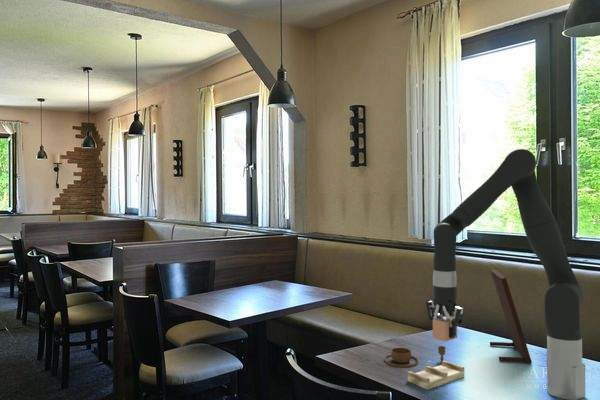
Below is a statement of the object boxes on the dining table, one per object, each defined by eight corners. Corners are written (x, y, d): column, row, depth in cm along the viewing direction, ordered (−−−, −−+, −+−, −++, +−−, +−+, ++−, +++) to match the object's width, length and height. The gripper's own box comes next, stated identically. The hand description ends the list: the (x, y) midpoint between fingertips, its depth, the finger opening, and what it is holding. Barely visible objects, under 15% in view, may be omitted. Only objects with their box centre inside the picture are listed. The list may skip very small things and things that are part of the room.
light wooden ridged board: (464, 376, 159) (464, 367, 159) (427, 389, 149) (427, 379, 149) (444, 369, 166) (444, 360, 166) (407, 381, 155) (407, 371, 155)
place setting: (393, 354, 184) (392, 338, 184) (447, 362, 175) (447, 346, 175) (377, 368, 169) (376, 351, 169) (435, 378, 159) (435, 360, 159)
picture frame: (532, 364, 170) (531, 278, 170) (500, 362, 173) (499, 277, 172) (517, 346, 191) (517, 269, 191) (489, 344, 193) (489, 268, 193)
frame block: (457, 338, 159) (457, 318, 159) (445, 341, 156) (445, 321, 156) (444, 334, 163) (444, 315, 163) (432, 337, 160) (432, 318, 160)
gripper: (470, 286, 156) (470, 339, 156) (434, 279, 167) (434, 329, 168) (455, 288, 151) (455, 343, 152) (419, 282, 163) (419, 332, 163)
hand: (444, 335), depth 160 cm, fingers closed on frame block, 5 cm apart
